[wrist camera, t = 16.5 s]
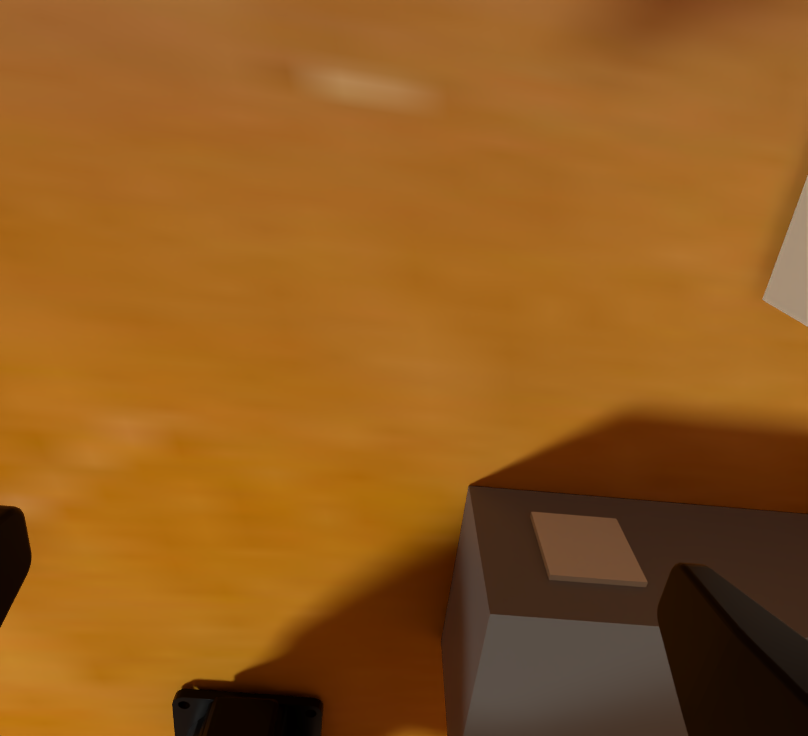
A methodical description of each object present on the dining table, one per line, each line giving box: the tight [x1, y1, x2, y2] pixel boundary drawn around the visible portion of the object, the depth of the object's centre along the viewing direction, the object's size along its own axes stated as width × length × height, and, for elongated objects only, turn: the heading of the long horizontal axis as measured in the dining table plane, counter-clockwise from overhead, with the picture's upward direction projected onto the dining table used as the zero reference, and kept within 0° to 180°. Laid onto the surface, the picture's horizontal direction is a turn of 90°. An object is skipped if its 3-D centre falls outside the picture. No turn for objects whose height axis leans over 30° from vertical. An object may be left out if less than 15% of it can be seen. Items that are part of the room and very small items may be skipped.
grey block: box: [441, 486, 808, 736], centre depth 22 cm, size 8×20×6 cm, turn 84°
